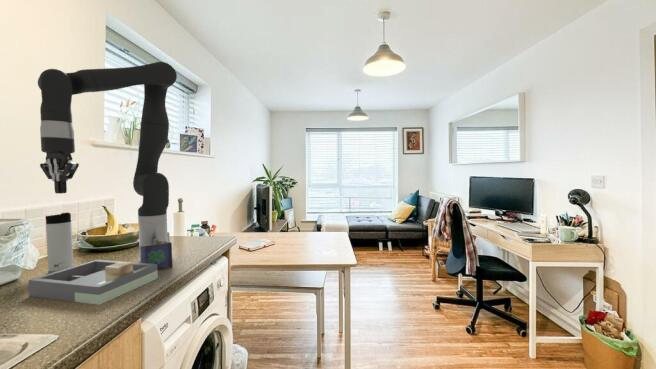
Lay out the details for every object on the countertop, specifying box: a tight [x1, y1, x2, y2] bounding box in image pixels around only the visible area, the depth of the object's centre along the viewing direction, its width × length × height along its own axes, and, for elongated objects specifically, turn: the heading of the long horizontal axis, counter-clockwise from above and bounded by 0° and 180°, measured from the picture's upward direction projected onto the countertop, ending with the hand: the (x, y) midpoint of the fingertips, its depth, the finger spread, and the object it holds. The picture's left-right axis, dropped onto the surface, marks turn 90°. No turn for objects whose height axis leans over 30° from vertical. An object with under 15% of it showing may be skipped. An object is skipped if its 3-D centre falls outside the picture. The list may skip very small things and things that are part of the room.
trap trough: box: [27, 259, 159, 306], centre depth 82 cm, size 18×24×4 cm
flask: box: [139, 238, 173, 271], centre depth 97 cm, size 9×3×11 cm, turn 121°
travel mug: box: [45, 212, 75, 274], centre depth 96 cm, size 6×7×20 cm
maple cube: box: [105, 261, 133, 282], centre depth 80 cm, size 4×4×4 cm
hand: (60, 193), depth 88 cm, fingers closed
